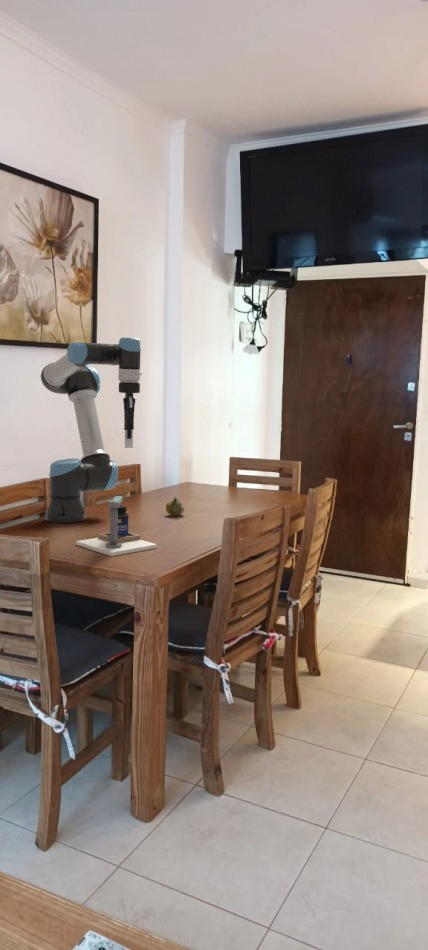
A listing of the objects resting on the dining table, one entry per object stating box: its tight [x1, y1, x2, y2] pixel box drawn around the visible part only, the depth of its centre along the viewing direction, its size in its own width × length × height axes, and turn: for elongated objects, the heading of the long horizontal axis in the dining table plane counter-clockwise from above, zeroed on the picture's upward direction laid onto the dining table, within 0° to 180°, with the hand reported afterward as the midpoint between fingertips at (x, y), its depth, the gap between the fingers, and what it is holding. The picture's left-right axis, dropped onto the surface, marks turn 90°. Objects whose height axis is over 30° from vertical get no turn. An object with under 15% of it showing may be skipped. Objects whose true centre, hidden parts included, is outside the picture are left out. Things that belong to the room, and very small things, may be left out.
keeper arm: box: [107, 495, 123, 509], centre depth 230 cm, size 15×4×2 cm, turn 1°
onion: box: [165, 496, 185, 517], centre depth 288 cm, size 8×8×8 cm
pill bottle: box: [117, 504, 129, 538], centre depth 237 cm, size 6×6×11 cm
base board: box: [75, 508, 158, 557], centre depth 231 cm, size 20×18×14 cm
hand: (128, 447), depth 255 cm, fingers closed
